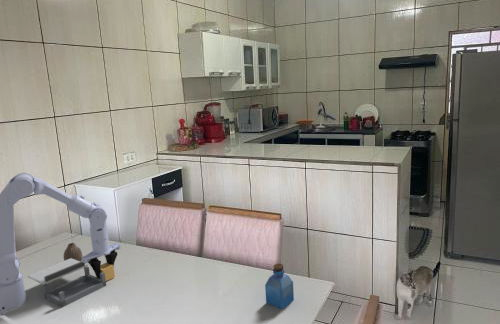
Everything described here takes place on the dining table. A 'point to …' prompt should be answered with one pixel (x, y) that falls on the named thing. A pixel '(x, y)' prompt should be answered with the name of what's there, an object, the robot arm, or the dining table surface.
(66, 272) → the lid
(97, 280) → the case
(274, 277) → the perfume bottle
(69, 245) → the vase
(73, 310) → the dining table surface
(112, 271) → the block
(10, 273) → the robot arm
